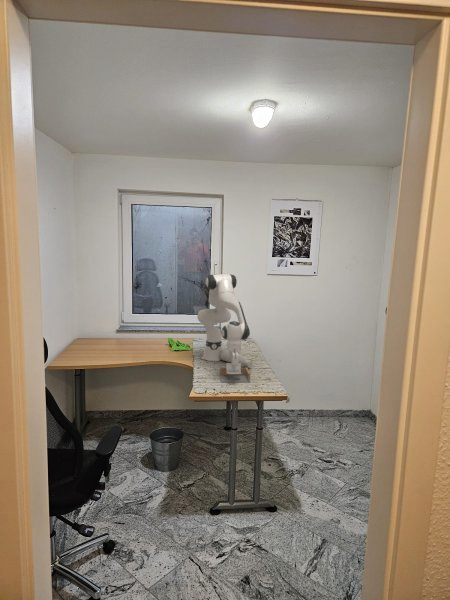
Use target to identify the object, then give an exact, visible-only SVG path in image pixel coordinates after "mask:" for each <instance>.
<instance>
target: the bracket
mask: <svg viewBox="0 0 450 600" xmlns="http://www.w3.org/2000/svg"><path fill="white" fill-rule="evenodd" d="M232 367H233V365H232V363H231V362H226V365H225V368H226V373H227V374H241V368H242V367H241V363H238V366H236V367H235V370H233V369H232Z"/></svg>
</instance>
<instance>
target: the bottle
mask: <svg viewBox="0 0 450 600" xmlns="http://www.w3.org/2000/svg"><path fill="white" fill-rule="evenodd" d="M220 358H221V359H222V360H221V361H224V362H226V363H232V362H231V360H230V357H229V351H228V350H227V348H223V350H222V352H221V353H220ZM238 358H239V362H238V363H241V368H248V369H249V368H252V367H253V361H251V360H249V359H248V357H247V356H244V355H241V354H239V353H238Z"/></svg>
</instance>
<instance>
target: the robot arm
mask: <svg viewBox="0 0 450 600" xmlns="http://www.w3.org/2000/svg"><path fill="white" fill-rule="evenodd" d="M237 281H238V280H237V277H236V275H234V274H228V273H227V274H226V273H221V274H220V273H219V274H209V275H207V276H206V278H205V285H206V288H207V289H208V290H209V291H208V303H209V305H211V306H212V307H214V308H204V309H203V308H202V309H200V310H198V313H197V321H199V323H201V325H203V326H204V328H205V333H206V341H205V346H204V348H203V354H202V356H201V358H200V359H201V360H204V361H205V360H206V361H209V362H219V361H223V360H222V359H221V358H220V353H221V352H222V350H223V349H224V348H223V347H222V343H223V342H222V339H224V340H227V343H226V344H227V345H226V349H227V350H228V351H229V357H230V360H231V362H232V365H233V367H232V369H233V370H235V367H236V366H238V362H239V358H238V354H239V353H240V352H241V351H242V341H246V340H247V339H248V338H249V337H250V333H251V331H250V328H249V325H248V323H247V319H246V316H245V314H244V310H243V306H242V304H241V302H240V301H238V300H237V298H236V296H235V290H234V289H235V288H236V287H237V283H238V282H237ZM231 311H232V312H234V313H235V314H236V316H237V317H236V318H237V320H238V321H235V320H233V321H230V320H231V318H232V314H231ZM222 323H223V324H224V323H228V324H226V325H224V326H223V327H222V328H221V329H220V328H218V327H216V326H215V324H222ZM231 362H230V363H231Z"/></svg>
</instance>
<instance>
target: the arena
mask: <svg viewBox="0 0 450 600" xmlns="http://www.w3.org/2000/svg"><path fill="white" fill-rule="evenodd" d="M219 377H220V378H219V379H220V382H221V383H222V384H223V383H229V384H230V383H232V384H233V383H237V382H238V383H239V384H240V383H251V372H250V370H249V367H241V374H227V373H226V367H220V368H219Z"/></svg>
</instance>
